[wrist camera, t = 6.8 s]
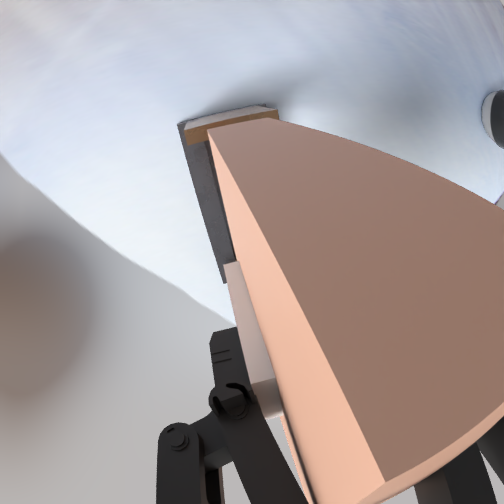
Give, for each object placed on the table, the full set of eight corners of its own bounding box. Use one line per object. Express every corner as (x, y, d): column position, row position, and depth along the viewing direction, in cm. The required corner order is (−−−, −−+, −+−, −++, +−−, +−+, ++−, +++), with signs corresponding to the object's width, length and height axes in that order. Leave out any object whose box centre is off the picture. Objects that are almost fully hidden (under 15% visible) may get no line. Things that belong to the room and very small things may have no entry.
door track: (263, 103, 27) (290, 107, 19) (289, 261, 38) (313, 305, 30) (177, 123, 27) (170, 134, 19) (222, 279, 37) (232, 328, 30)
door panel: (267, 117, 13) (596, 280, 1) (295, 324, 20) (375, 505, 8) (206, 129, 13) (386, 481, 1) (255, 335, 20) (316, 528, 8)
